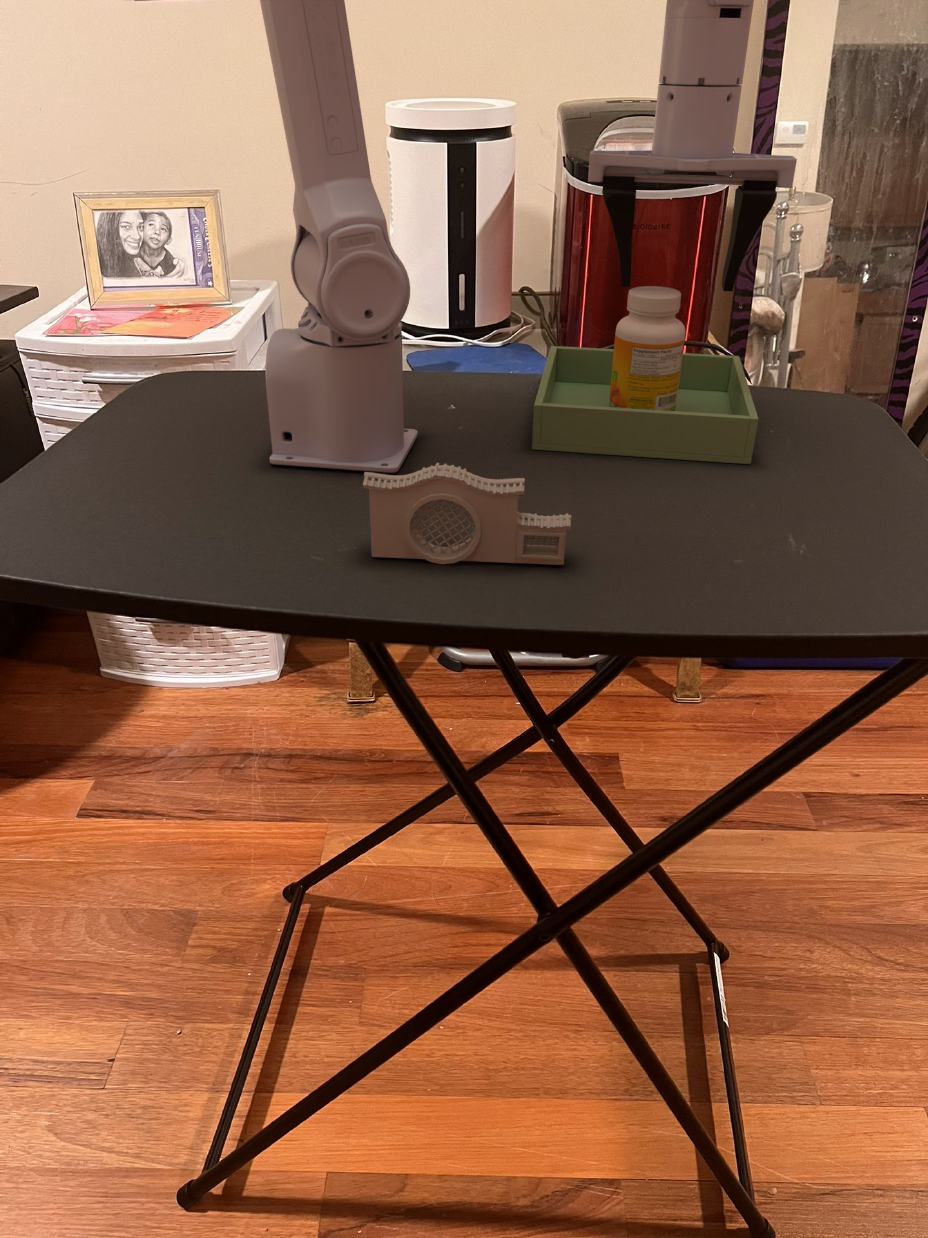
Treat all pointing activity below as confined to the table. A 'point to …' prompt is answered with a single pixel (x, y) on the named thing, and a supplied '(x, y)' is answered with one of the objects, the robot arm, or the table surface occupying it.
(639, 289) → the supplement bottle
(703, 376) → the basket
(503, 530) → the garden wall model
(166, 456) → the table surface
